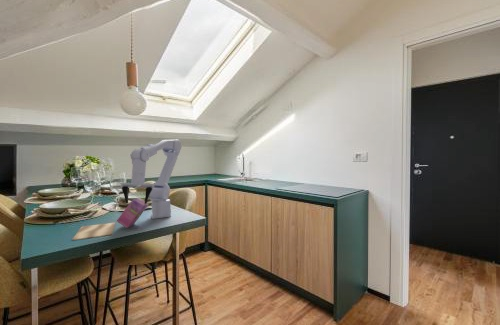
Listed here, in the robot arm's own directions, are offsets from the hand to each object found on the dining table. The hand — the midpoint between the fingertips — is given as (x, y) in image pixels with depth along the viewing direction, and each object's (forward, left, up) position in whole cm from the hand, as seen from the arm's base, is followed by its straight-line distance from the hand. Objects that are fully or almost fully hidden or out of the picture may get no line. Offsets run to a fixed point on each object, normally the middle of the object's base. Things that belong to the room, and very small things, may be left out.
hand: (136, 203), depth 116 cm
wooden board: (+17, 0, -11) cm, 20 cm away
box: (+5, +1, -9) cm, 10 cm away
